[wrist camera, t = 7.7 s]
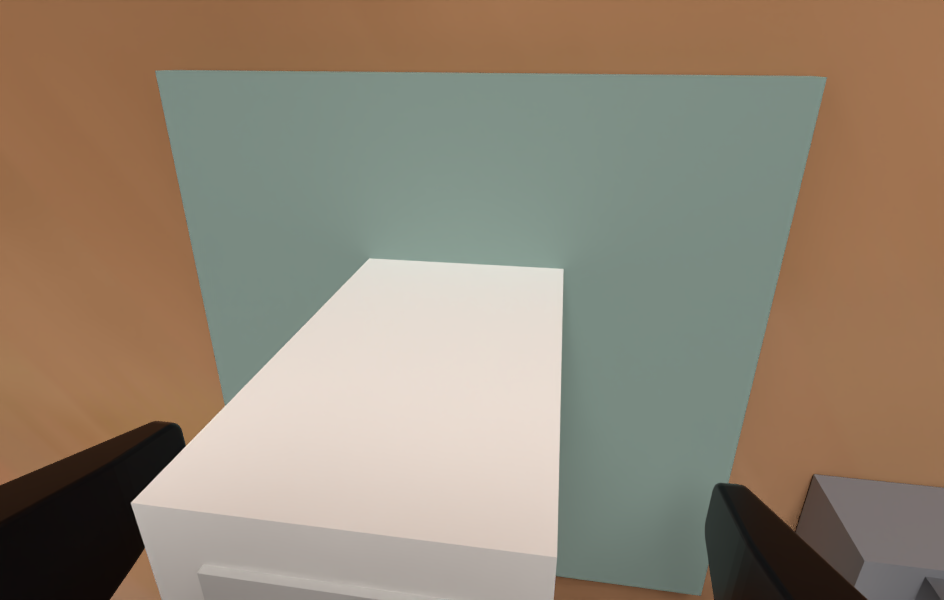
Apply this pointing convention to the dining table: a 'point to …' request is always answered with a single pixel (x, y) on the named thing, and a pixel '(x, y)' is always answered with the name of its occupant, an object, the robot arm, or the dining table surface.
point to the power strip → (878, 535)
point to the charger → (380, 450)
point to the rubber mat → (524, 250)
